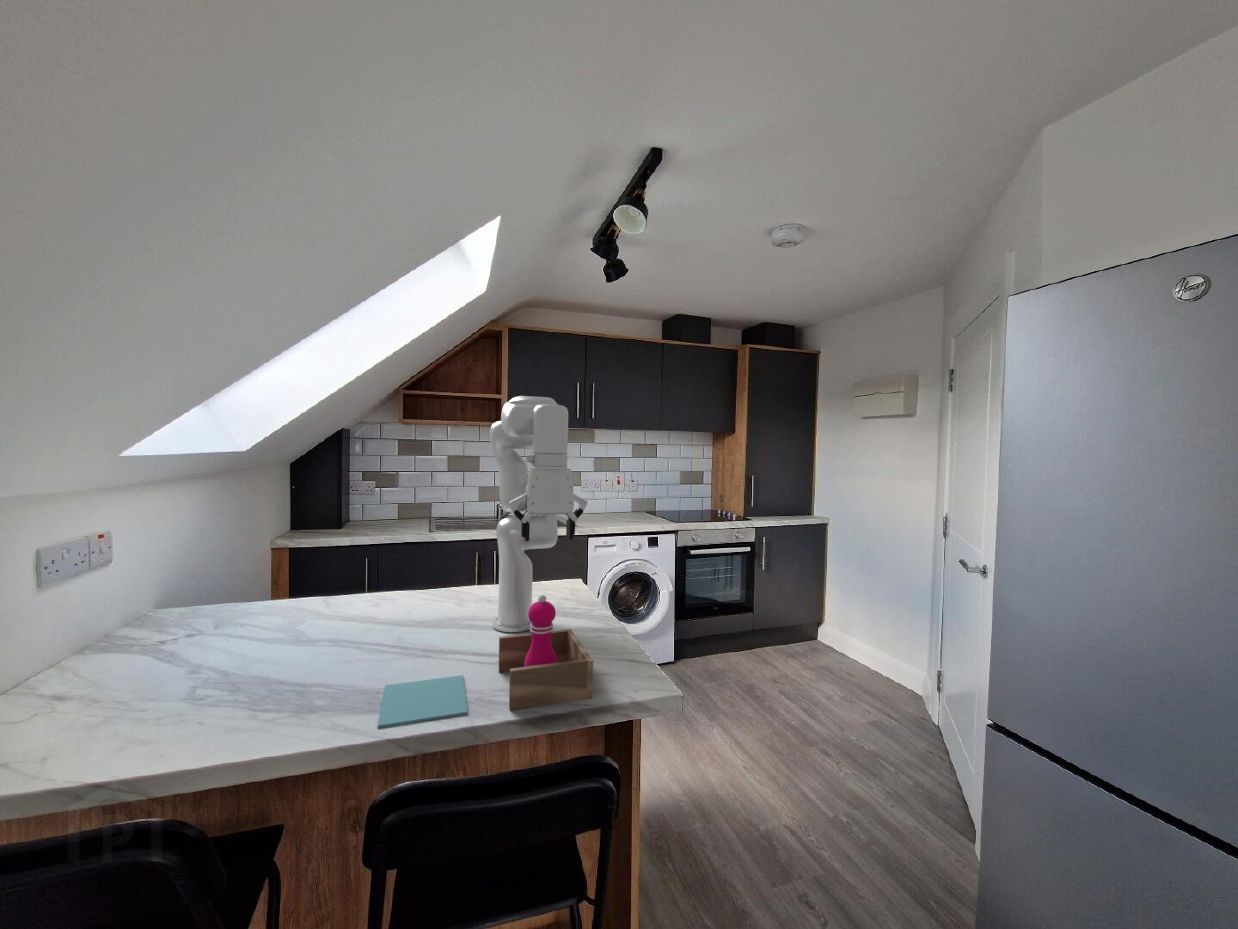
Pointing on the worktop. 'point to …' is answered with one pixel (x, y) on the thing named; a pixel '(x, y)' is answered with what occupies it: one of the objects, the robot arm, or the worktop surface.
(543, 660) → the pepper mill
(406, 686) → the mat
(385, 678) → the worktop surface
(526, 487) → the robot arm
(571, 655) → the open side box
